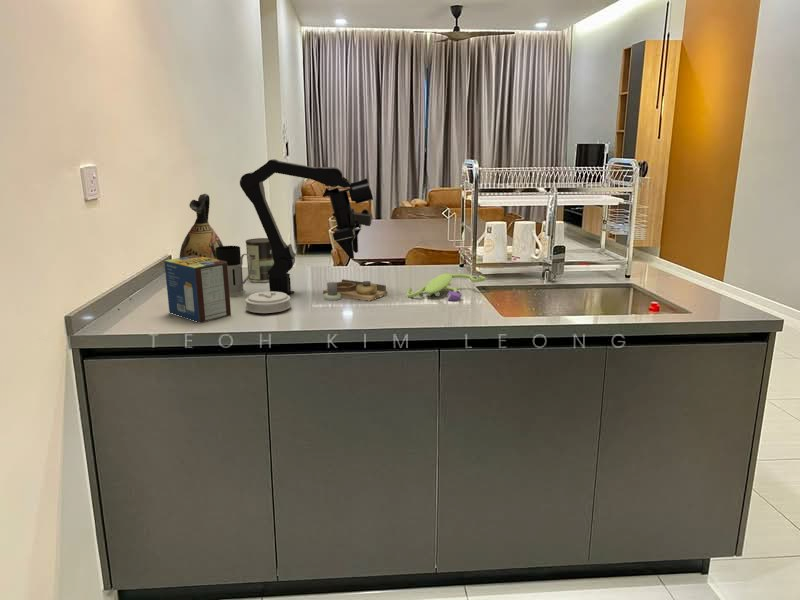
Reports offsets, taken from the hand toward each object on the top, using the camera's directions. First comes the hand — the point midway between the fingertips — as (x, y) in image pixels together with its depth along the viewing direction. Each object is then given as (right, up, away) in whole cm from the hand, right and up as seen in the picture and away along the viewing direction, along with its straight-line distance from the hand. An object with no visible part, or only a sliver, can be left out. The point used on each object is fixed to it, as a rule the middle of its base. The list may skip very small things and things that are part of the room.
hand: (354, 255), depth 193 cm
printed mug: (-34, -7, +23) cm, 42 cm away
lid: (-24, -17, -16) cm, 34 cm away
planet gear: (-7, -14, -4) cm, 16 cm away
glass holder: (-38, -13, +1) cm, 40 cm away
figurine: (+30, -12, +5) cm, 32 cm away
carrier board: (0, -12, +1) cm, 12 cm away
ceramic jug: (-55, -7, +22) cm, 59 cm away
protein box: (-42, -19, -21) cm, 51 cm away
